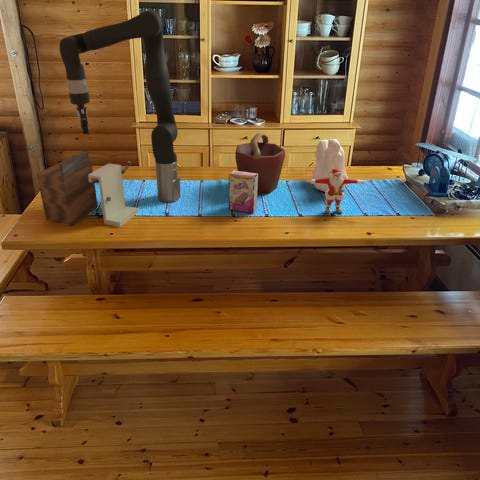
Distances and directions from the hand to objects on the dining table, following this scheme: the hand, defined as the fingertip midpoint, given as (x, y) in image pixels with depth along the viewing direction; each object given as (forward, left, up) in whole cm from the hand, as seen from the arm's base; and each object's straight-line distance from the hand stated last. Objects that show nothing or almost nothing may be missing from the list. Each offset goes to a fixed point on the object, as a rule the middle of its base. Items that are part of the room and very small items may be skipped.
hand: (85, 131), depth 198 cm
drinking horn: (+8, -18, -30) cm, 36 cm away
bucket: (-64, -37, -30) cm, 80 cm away
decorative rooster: (-95, -50, -30) cm, 111 cm away
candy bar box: (-66, -11, -30) cm, 73 cm away
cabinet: (-2, +18, -30) cm, 35 cm away
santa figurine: (-102, -23, -30) cm, 109 cm away
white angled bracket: (-20, +14, -30) cm, 39 cm away
